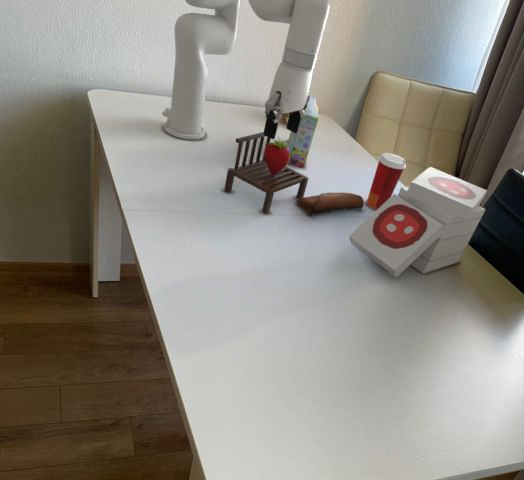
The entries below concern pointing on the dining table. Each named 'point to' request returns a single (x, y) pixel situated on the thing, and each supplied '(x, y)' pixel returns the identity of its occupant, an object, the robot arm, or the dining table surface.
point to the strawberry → (276, 156)
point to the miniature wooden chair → (262, 172)
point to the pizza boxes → (422, 224)
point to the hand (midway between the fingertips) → (280, 133)
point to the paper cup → (385, 179)
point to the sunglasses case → (330, 202)
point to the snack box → (303, 135)
